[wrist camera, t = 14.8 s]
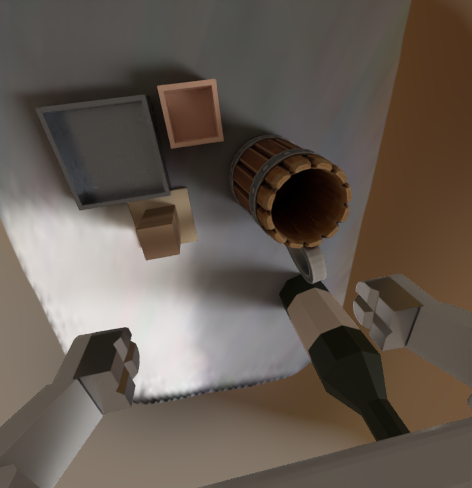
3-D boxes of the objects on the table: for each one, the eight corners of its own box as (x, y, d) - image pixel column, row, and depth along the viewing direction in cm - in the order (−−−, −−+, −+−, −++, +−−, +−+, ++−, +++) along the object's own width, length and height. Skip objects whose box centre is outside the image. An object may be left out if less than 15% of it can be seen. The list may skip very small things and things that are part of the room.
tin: (49, 108, 28) (34, 107, 25) (149, 96, 29) (144, 94, 26) (88, 202, 33) (79, 210, 30) (171, 189, 34) (170, 195, 31)
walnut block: (145, 209, 34) (135, 230, 28) (175, 204, 34) (171, 223, 28) (153, 235, 36) (146, 260, 30) (181, 231, 36) (179, 254, 30)
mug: (217, 149, 32) (235, 170, 19) (292, 122, 33) (363, 125, 19) (248, 247, 40) (277, 311, 27) (310, 225, 40) (370, 278, 27)
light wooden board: (126, 196, 33) (125, 198, 33) (186, 187, 34) (186, 188, 33) (144, 248, 37) (143, 250, 36) (197, 239, 38) (197, 240, 37)
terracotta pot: (161, 89, 29) (157, 85, 25) (212, 83, 29) (215, 78, 26) (173, 145, 31) (171, 148, 28) (220, 138, 32) (223, 141, 28)
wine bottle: (330, 290, 47) (510, 510, 21) (296, 316, 49) (422, 552, 22) (305, 265, 43) (486, 493, 17) (270, 294, 45) (384, 545, 19)
